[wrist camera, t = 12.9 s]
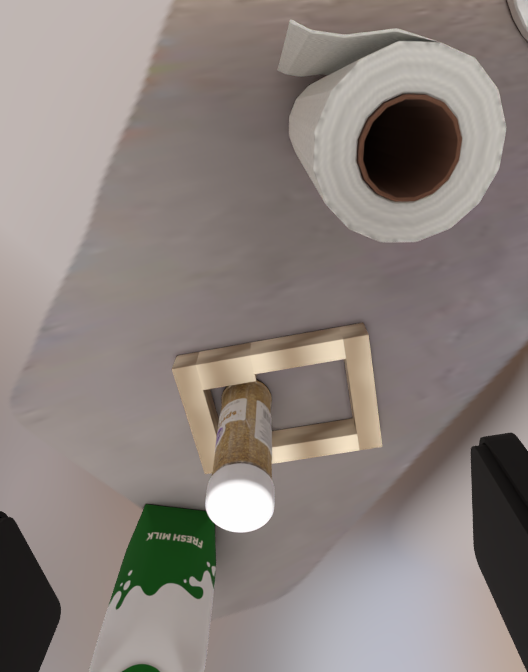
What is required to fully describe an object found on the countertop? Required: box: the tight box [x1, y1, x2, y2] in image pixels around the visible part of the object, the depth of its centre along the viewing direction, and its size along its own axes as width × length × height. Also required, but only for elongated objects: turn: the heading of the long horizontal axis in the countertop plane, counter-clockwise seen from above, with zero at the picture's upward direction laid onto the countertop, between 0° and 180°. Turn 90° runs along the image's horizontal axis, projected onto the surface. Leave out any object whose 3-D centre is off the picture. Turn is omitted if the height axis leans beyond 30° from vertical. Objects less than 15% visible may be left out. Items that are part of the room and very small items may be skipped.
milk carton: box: [89, 504, 216, 672], centre depth 42 cm, size 9×9×20 cm
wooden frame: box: [172, 323, 382, 474], centre depth 43 cm, size 16×11×2 cm
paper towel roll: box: [278, 20, 506, 242], centre depth 25 cm, size 7×6×21 cm
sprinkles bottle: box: [205, 380, 275, 532], centre depth 38 cm, size 5×5×14 cm
